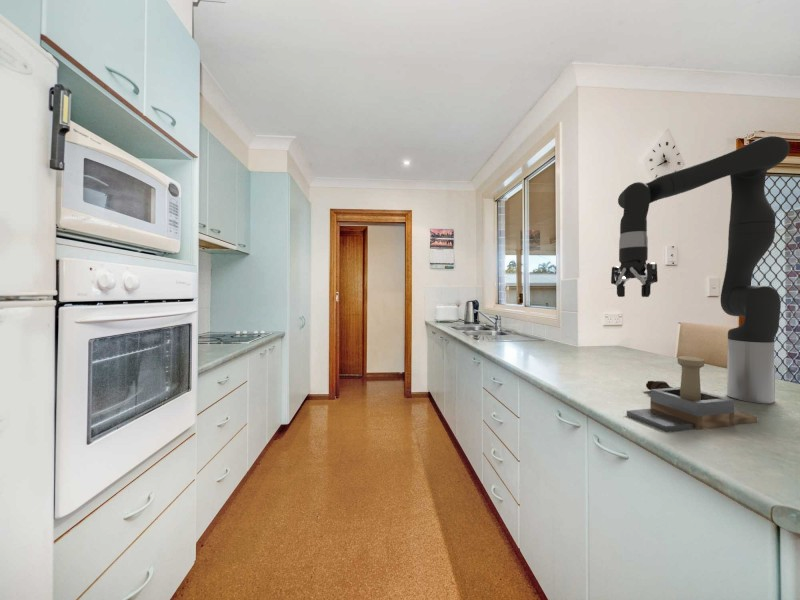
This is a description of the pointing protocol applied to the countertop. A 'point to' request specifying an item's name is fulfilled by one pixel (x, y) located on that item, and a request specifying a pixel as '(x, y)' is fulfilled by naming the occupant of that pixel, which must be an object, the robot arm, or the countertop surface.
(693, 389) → the handle
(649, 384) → the dark brown oblong lump
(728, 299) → the robot arm
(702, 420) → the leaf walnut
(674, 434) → the countertop surface
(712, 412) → the grey storage bin
